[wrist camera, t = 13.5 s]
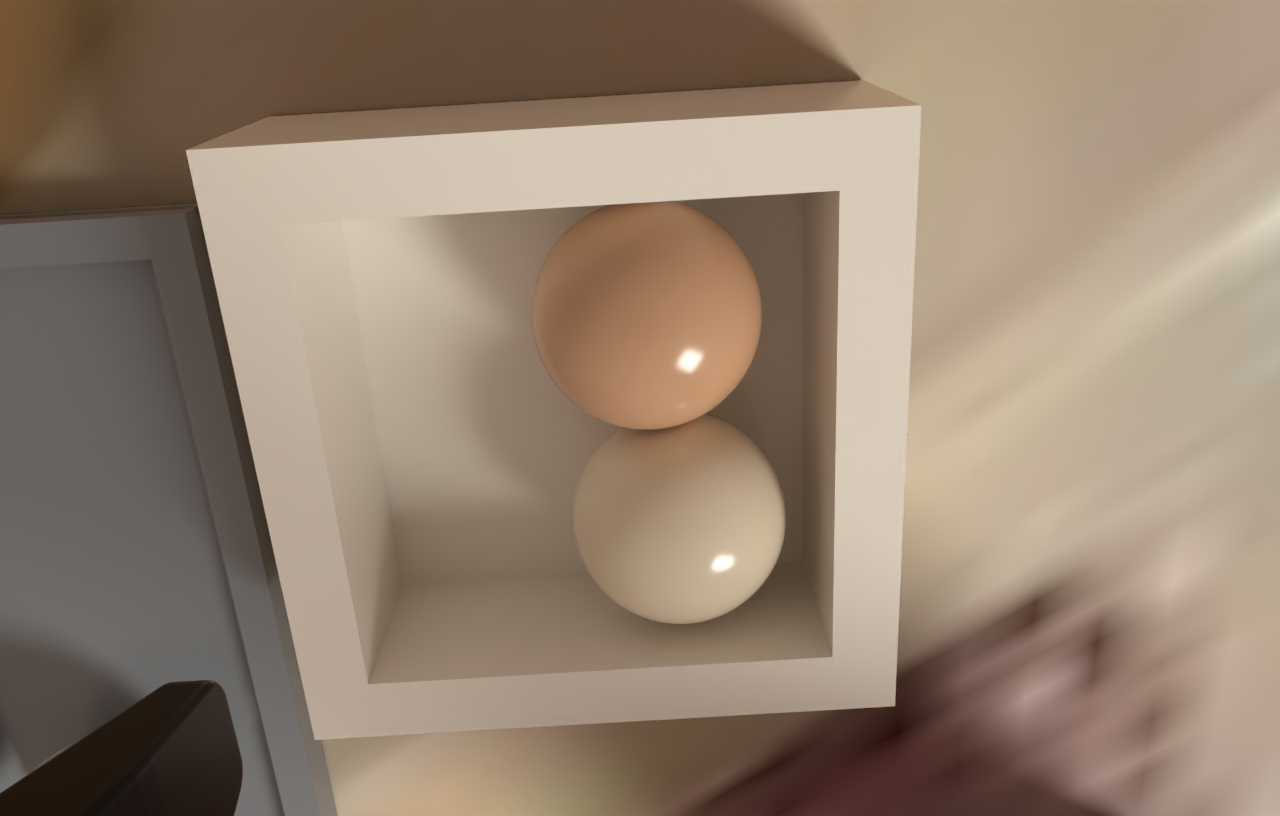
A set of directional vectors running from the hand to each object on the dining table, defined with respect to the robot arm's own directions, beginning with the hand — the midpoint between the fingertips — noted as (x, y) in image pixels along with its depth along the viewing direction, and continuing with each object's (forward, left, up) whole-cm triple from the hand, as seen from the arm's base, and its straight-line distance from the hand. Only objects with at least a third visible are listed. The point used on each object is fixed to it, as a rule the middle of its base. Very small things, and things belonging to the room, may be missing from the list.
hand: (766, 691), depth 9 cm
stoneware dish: (-2, +2, -13) cm, 13 cm away
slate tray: (-6, +13, -13) cm, 19 cm away
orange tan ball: (0, +2, -12) cm, 12 cm away
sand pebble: (-4, +2, -12) cm, 12 cm away
